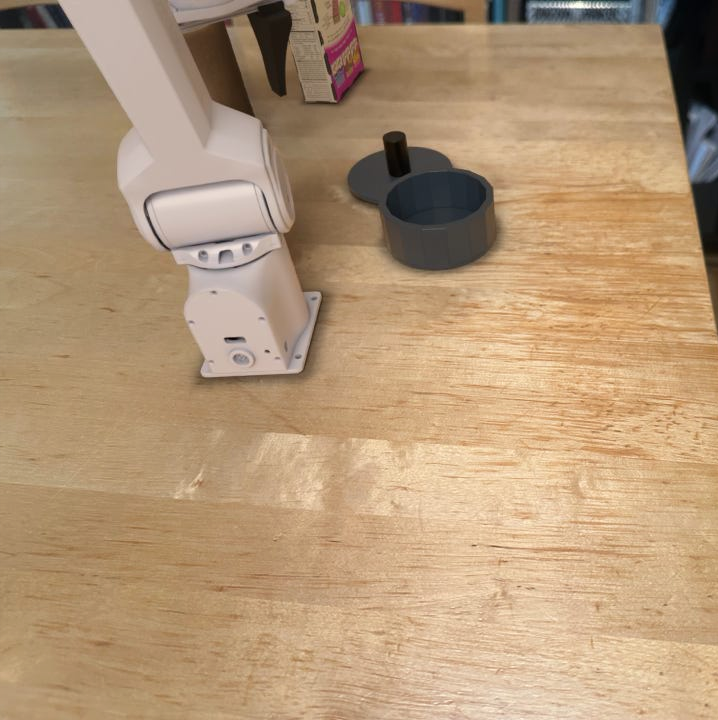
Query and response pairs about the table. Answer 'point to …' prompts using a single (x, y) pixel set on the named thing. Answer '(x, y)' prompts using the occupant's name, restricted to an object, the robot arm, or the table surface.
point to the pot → (438, 218)
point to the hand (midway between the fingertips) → (241, 105)
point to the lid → (391, 166)
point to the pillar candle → (218, 66)
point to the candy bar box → (324, 48)
